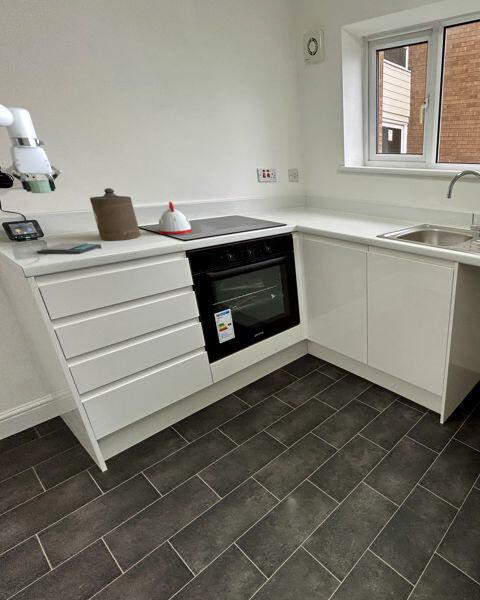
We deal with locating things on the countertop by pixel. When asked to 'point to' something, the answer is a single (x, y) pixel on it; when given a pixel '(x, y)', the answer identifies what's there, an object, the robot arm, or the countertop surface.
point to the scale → (69, 248)
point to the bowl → (39, 186)
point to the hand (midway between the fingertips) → (40, 190)
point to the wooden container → (115, 216)
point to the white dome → (173, 222)
